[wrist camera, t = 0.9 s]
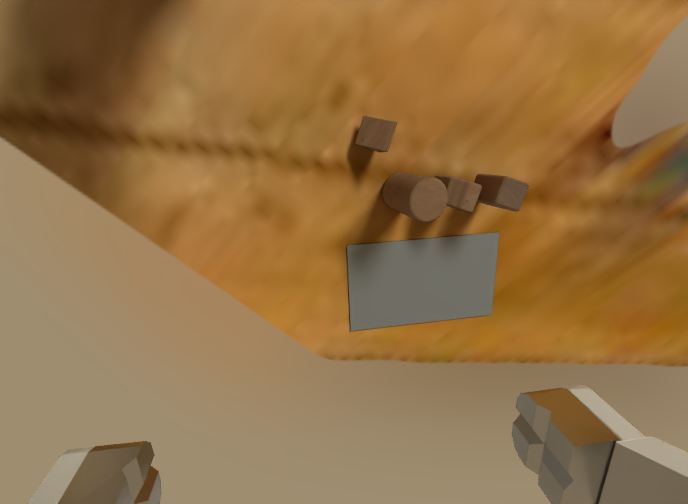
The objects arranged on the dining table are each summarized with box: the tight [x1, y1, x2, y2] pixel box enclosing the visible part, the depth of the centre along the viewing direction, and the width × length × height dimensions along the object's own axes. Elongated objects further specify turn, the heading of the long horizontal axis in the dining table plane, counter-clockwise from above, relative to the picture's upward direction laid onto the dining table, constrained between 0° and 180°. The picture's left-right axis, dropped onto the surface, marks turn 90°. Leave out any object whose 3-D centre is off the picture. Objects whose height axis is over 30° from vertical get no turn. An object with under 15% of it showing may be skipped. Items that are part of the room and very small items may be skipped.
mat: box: [347, 232, 499, 331], centre depth 50 cm, size 12×20×1 cm, turn 93°
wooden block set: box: [355, 116, 529, 223], centre depth 40 cm, size 18×9×10 cm, turn 72°
